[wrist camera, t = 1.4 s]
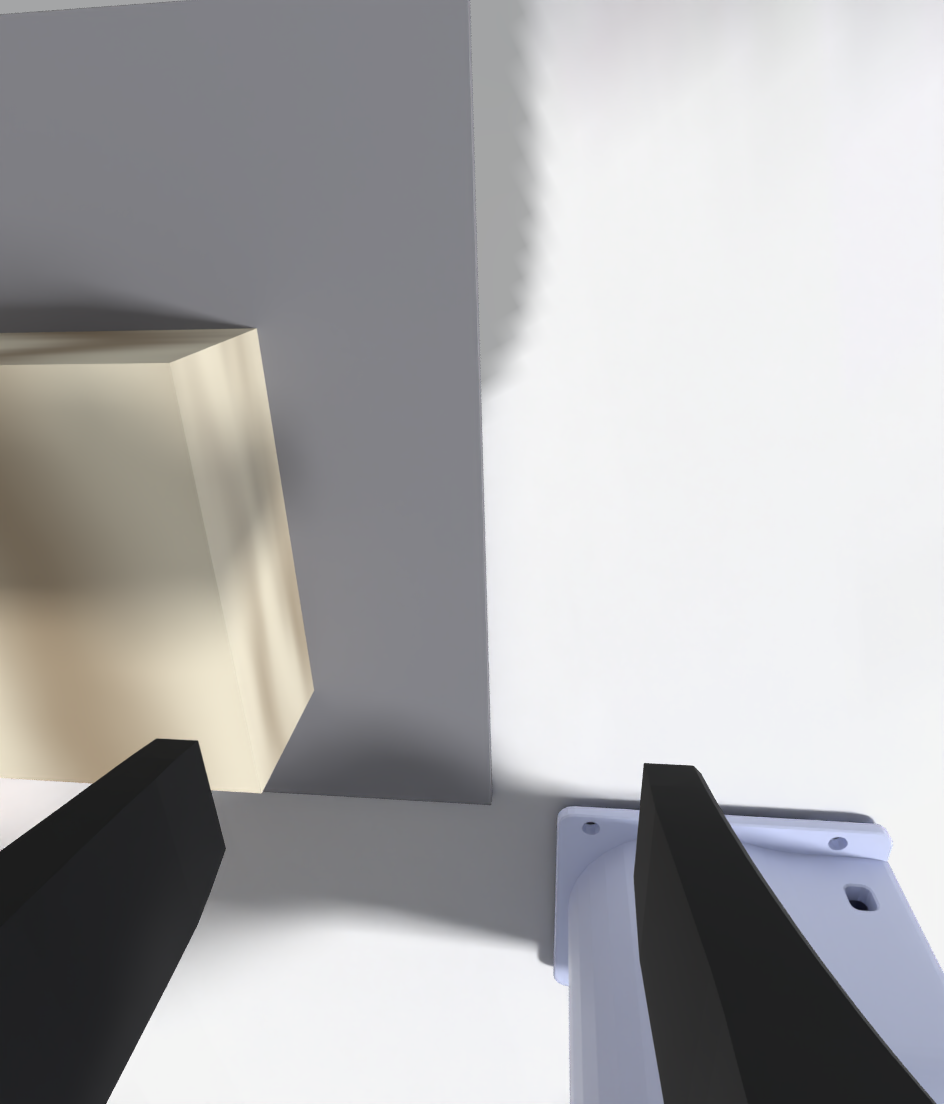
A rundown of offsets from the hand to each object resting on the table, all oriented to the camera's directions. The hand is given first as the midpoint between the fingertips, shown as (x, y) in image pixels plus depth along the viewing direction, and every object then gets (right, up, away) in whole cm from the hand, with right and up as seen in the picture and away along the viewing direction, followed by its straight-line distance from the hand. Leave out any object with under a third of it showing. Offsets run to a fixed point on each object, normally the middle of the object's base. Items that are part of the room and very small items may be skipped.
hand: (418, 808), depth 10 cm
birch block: (-8, +4, +9) cm, 13 cm away
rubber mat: (-11, +5, +9) cm, 16 cm away
